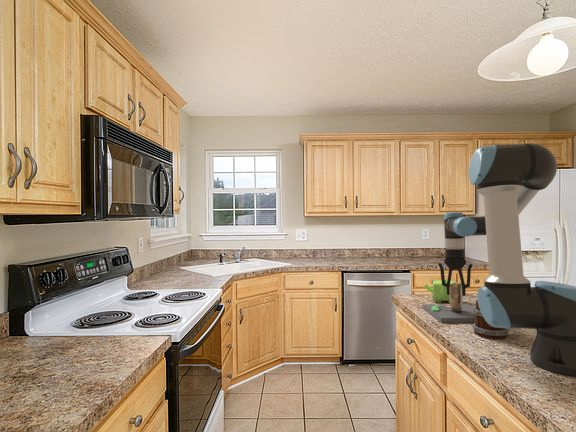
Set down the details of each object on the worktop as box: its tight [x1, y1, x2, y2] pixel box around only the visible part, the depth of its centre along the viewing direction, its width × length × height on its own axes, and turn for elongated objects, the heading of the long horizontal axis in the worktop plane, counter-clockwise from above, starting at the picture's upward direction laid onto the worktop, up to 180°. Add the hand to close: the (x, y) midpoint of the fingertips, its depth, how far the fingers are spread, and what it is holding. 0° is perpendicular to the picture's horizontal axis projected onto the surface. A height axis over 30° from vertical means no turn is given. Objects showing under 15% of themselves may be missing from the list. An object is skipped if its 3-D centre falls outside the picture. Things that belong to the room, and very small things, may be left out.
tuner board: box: [422, 303, 475, 324], centre depth 151 cm, size 22×20×3 cm
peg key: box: [434, 281, 462, 313], centre depth 151 cm, size 11×7×12 cm, turn 50°
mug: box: [471, 299, 510, 340], centre depth 127 cm, size 12×14×15 cm
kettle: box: [423, 278, 467, 304], centre depth 174 cm, size 15×14×11 cm
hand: (456, 302), depth 149 cm, fingers open, 3 cm apart
